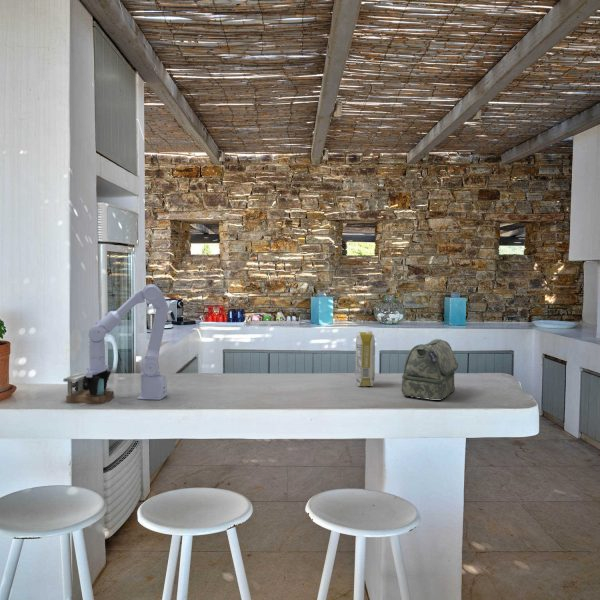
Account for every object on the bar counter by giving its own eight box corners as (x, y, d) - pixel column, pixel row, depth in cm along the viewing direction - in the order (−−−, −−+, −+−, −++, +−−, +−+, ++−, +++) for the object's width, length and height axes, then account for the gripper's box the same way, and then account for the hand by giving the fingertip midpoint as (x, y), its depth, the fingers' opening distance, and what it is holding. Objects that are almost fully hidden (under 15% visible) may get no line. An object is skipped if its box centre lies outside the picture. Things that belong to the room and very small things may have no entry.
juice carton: (375, 387, 237) (376, 332, 236) (356, 387, 237) (357, 331, 236) (372, 383, 247) (373, 329, 245) (354, 382, 247) (355, 329, 245)
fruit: (69, 370, 222) (108, 368, 226) (72, 373, 230) (110, 370, 234) (69, 392, 220) (109, 389, 224) (72, 394, 228) (110, 391, 232)
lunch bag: (442, 404, 211) (443, 347, 209) (396, 397, 220) (397, 343, 219) (460, 390, 233) (461, 339, 232) (418, 385, 242) (419, 336, 241)
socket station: (115, 397, 216) (115, 374, 216) (103, 403, 206) (103, 380, 206) (76, 396, 218) (76, 373, 217) (63, 402, 208) (63, 378, 207)
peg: (106, 399, 213) (105, 378, 213) (100, 401, 209) (100, 380, 209) (96, 398, 214) (96, 378, 213) (90, 401, 210) (90, 380, 210)
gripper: (96, 353, 218) (96, 387, 219) (77, 360, 204) (78, 396, 205) (113, 354, 217) (113, 388, 218) (96, 360, 203) (97, 397, 204)
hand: (98, 392), depth 211 cm, fingers open, 7 cm apart
